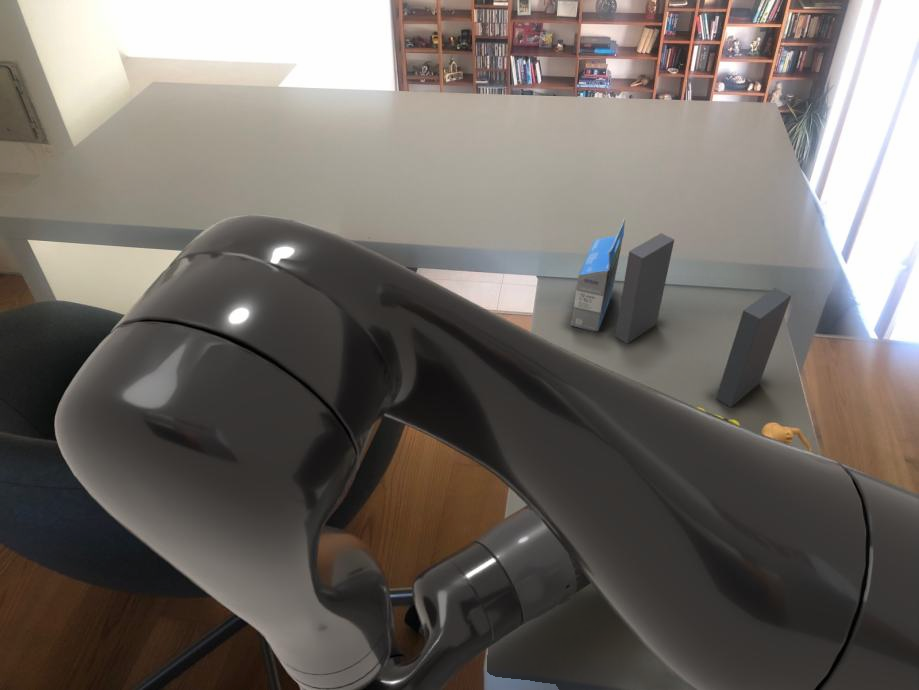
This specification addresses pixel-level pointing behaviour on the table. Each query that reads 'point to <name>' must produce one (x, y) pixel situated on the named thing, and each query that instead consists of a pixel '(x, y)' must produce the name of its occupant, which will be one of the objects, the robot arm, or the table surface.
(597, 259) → the label tape box
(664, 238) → the grey rectangular blocks
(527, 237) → the table surface
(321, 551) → the robot arm
